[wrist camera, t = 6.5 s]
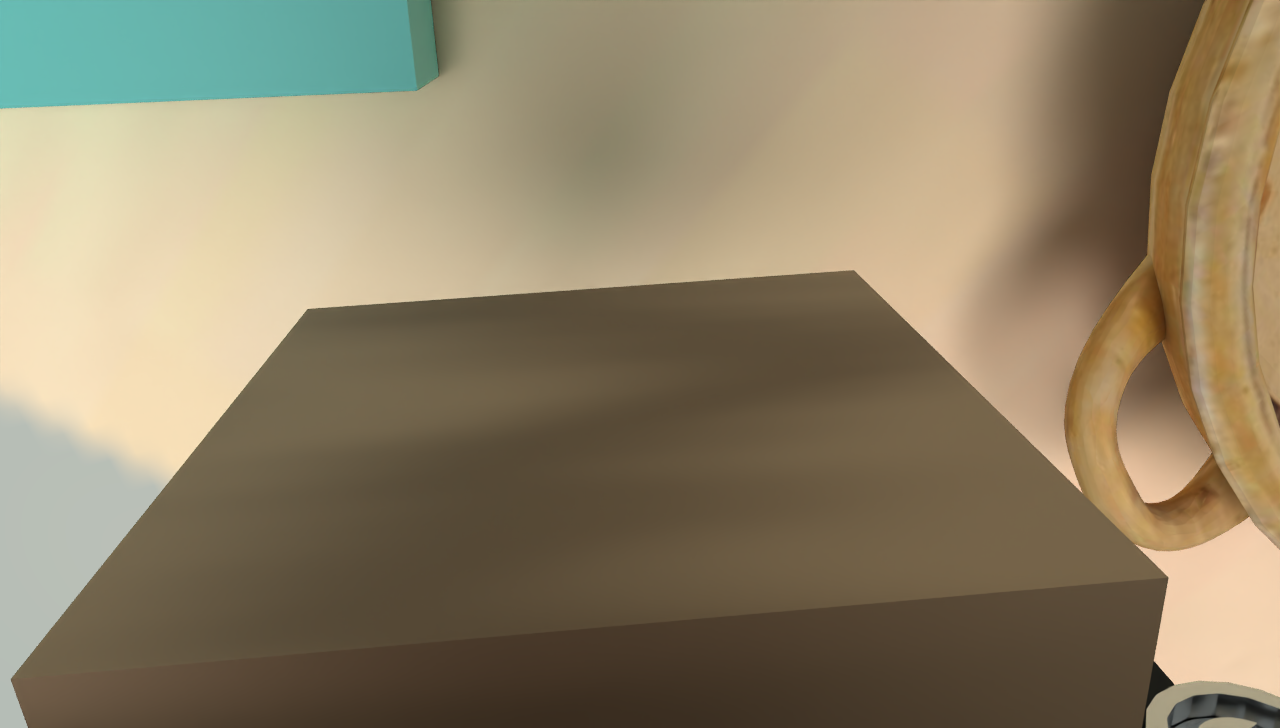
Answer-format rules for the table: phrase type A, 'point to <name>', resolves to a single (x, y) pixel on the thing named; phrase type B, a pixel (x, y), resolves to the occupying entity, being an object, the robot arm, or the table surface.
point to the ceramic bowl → (1201, 294)
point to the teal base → (210, 49)
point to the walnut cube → (610, 534)
